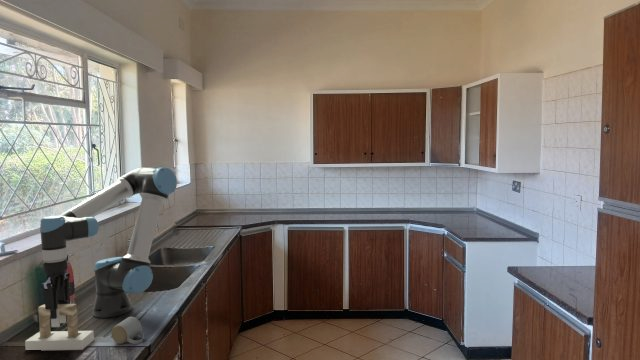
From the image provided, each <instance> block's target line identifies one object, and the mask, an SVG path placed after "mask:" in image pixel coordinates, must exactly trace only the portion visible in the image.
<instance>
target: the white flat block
mask: <svg viewBox="0 0 640 360" xmlns="http://www.w3.org/2000/svg"><path fill="white" fill-rule="evenodd" d="M94 340H95V335H94V330H78V334H77V335H76V336H74V337H68V330H66V331H65V330H60V331H59V330H56V331H55V330H54V331H51V334H50V335H49V336H47V337H44V338H40V331H38V332H36V333H35V334H33V335H32V336H30V337H29V338H27V339H26V340H25V341H24V344H25V345H24V346H25V351H26V350H41V351H81V350H82V351H83V350H84V349H86V347H88V346H89V345H90V344H91V343H92V342H94Z"/></svg>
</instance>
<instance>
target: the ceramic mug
mask: <svg viewBox="0 0 640 360" xmlns="http://www.w3.org/2000/svg"><path fill="white" fill-rule="evenodd" d="M142 327H143V326H142V324H141V321H140V320H139V319H138V318H136V317H135V316H129V317H126V318H125V319H123V320H122V321H120V322H119V323H117V324H116V325H114V326H113V327H112V329H111V332H110V337H111V338H112V340H113V341H114V343H116V344H117V345H123V344H126V343H130V344H133V345H138V344H141V343H143V341H144V339H145V335H144V333H143V332H142V329H143V328H142ZM138 336H140V337H141V339H138V340H135V338H137V337H138Z"/></svg>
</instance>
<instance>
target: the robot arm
mask: <svg viewBox="0 0 640 360" xmlns="http://www.w3.org/2000/svg"><path fill="white" fill-rule="evenodd" d="M177 186H178V180H177V176H176V175H175V172H174V171H173V170H172V169H171V168H168V167H165V166H164V167H163V166H141V167H138V168H135V169H132V170H131V171H129V172H127V173H126V174H123V175H122V176H120V177H118V178H117V179H116V180H115V183H112V184H111V185H109V186H108V187H105V188H104V189H102V190H100V191H99V192H97V193H96V194H94V195H92V196H91V197H89V198H87V199H85V200H83V201H82V202H80V203H78V204H77V205H75V206H73V207H71V208H70V209H67V210H66V211H64V212H63V213H61V214H59V215H56V214H55V215H50V216H45V217H42V218H41V219H40V225H39V226H40V227H39V228H40V229H39V232H40V239H41V240H40V241H41V242H40V243H41V255H42V271H43V273H45V274H46V278H45V279H46V281H45V282H43V283H41V284H40V285H41V288H42V291H43V300H44V304H45V309H46V310H50V328H60V327H61V324H67V315H60V314H59V308H57V307H58V304H69V300H70V276H71V275H70V273H69V272H68V273H66V272H65V271H67V270H68V269H69V268H68V259H67V257H68V252H67V251H68V250H67V242H70V241H75V240H79V239H80V240H81V239H86V238H90V237H94V236H96V235H97V234H98V232H99V222H98V220H97V219H96V218H95V217H97V216H98V215H100V214H101V213H103V212H104V211H106V210H107V209H109V208H110V207H112V206H114V205H115V204H117V203H119V202H120V201H122V200H125V198H132V197H133V196H135V195H138V194H139V196H140V197H141V202H140V205H139V209H138V213H137V216H136V219H135V224H134V226H133V230H132V235H131V237H130V240H129V244H128V249H127V251H126V254H125V255H123V256H114V257H109V258H104V259H100V260H98V261H96V262H95V263H94V276H95V278H94V279H95V294H96V295H95V300H94V304H93V308H92V315H93V316H94V318H101V319H103V318H104V319H105V318H114V317H118V316H122V315H125V314H127V313H129V312H130V311H132V303H131V300H130V297H129V295H128V294H131V295H132V294H134V295H135V294H136V295H137V294H142V293H143V292H144V291H146V290H147V289H148V288H149V287H150V286H151V284H152V281H153V279H154V274H153V269H152V268H151V267H150V266H151V260H150V259H149V256H150V252H151V248H152V244H153V240H154V237H155V232H156V229H157V225H158V221H159V218H160V214H161V210H162V206H163V203H165V202H167V201H168V198H169V196H170V195H171V194H173V193H174V192H175V190H176V189H177Z"/></svg>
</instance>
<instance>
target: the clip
mask: <svg viewBox="0 0 640 360" xmlns="http://www.w3.org/2000/svg"><path fill="white" fill-rule="evenodd" d="M77 306H78V305H77V303H68V304H58V307H57V308H59V314H60V315H66V325H67V331H68V337H74V336H76V335H77V334H78V331H79V325H78V324H79V323H78V321H79V319H78V307H77ZM37 310H38V323H39V325H38V326H39V332H40V338H44V337H47V336H49V335H50V334H51V315H50V310H46V309H45V303H44V304H42V305H40V306H38V308H37Z"/></svg>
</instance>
